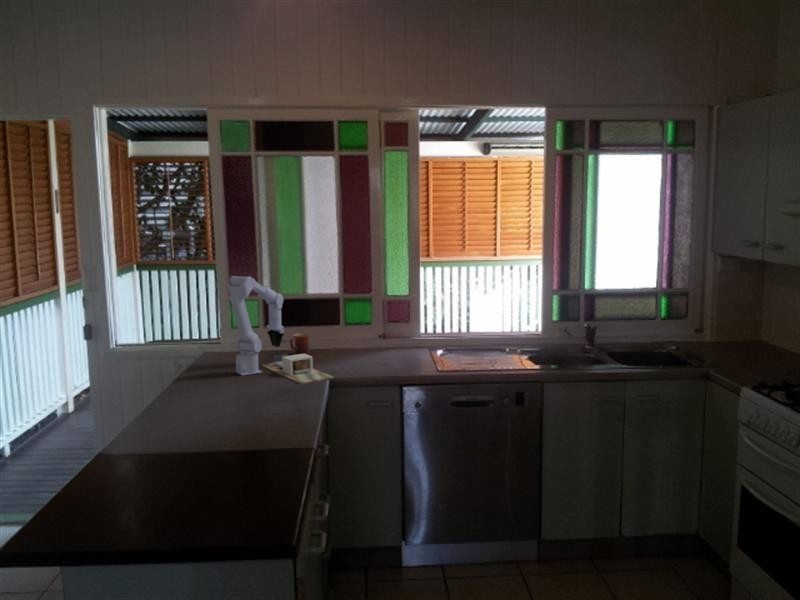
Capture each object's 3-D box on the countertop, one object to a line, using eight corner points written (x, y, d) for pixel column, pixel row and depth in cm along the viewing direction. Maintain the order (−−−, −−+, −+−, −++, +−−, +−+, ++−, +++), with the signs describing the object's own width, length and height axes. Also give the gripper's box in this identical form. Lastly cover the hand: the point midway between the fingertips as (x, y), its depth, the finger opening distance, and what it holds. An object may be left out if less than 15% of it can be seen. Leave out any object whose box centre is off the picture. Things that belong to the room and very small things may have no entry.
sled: (295, 373, 276) (295, 364, 276) (273, 363, 295) (273, 355, 294) (309, 371, 280) (309, 362, 280) (286, 361, 299) (286, 353, 298)
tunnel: (290, 374, 276) (290, 360, 275) (282, 371, 282) (282, 356, 281) (312, 371, 282) (312, 356, 281) (304, 367, 289) (304, 353, 288)
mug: (302, 352, 325) (301, 332, 323) (314, 354, 319) (313, 334, 318) (284, 356, 315) (284, 336, 314) (297, 358, 310) (296, 338, 308)
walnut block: (296, 370, 278) (296, 362, 277) (291, 368, 281) (291, 359, 281) (306, 369, 280) (306, 360, 280) (301, 367, 284) (301, 358, 284)
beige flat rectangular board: (300, 384, 263) (300, 382, 263) (261, 366, 294) (261, 364, 294) (333, 378, 273) (333, 376, 273) (292, 361, 304) (292, 359, 304)
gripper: (289, 319, 294) (290, 347, 295) (276, 315, 305) (277, 342, 307) (275, 320, 289) (276, 349, 291) (262, 316, 301) (263, 344, 303)
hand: (275, 346), depth 299 cm, fingers open, 3 cm apart
